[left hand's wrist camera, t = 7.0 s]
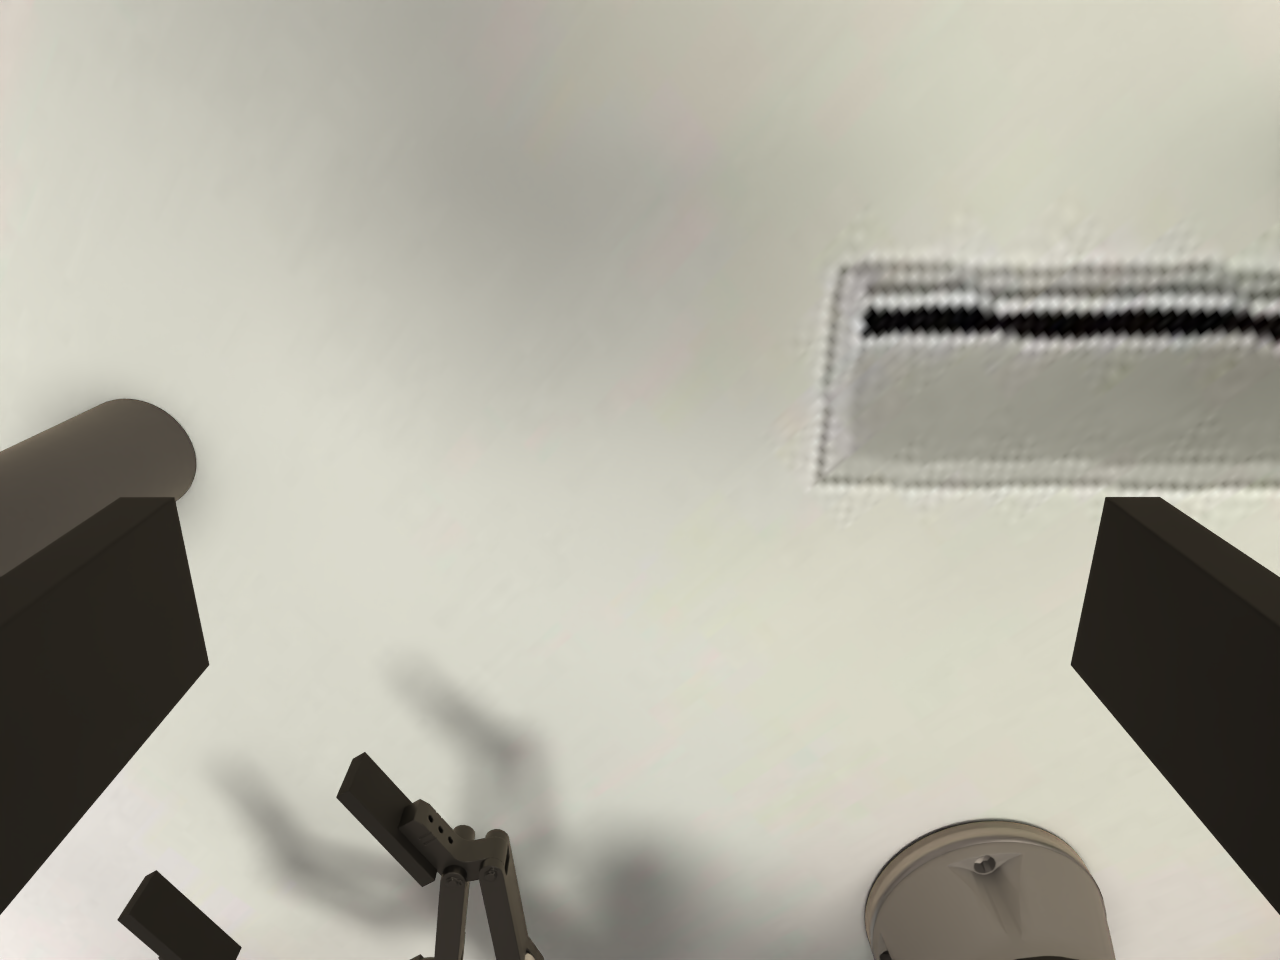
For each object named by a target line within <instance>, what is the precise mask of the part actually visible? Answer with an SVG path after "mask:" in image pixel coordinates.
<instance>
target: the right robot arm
mask: <svg viewBox="0 0 1280 960" xmlns="http://www.w3.org/2000/svg"><path fill="white" fill-rule="evenodd" d="M336 798H337V799H338V800H339V801H340V802H341V803H342V804H343V805H344V806H345V807H346V808H347V809H348V810H349V811H350V812H351V813H352V814H353V815H354V816H355V818H356V819H357V820H358V821H359V822H360V823H361V824H362V825H363V826H364V827H365V828H366V829H367V830H368V831H369V832H370V833H371V834H372V835H373V836H374V837H375V838H376V839H377V840H378V841H379V842H380V844H381V845H382V846H383V847H384V848H385V849H386V850H387V851H388V852H389V853H390V854H391V855H392V856H393V857H394V858H395V859H396V860H397V861H398V862H399V863H400V864H401V865H402V866H403V867H404V868H405V870H406V871H407V872H408V873H409V874H410V875H411V876H412V877H413V878H414V879H415V880H416V881H417V882H418V883H419V884H420V885H421V886H422V887H423V886H425V885H427V884H429V883H431V882H433V881H435V878H436V873H437V872H438V873H439V874H440V875H441V876H442V877H441V882H440V894H439V907H438V919H437V932H436V945H435V957H427V958H424V957H423V956H422V955H421V954H420V955H418V956H416V957H414V958H412V959H410V960H463V954H464V943H465V925H466V914H467V904H468V893H469V883H470V881H473V880H479V881H480V886H481V890H482V895H483V899H484V904H485V909H486V913H487V918H488V923H489V927H490V932H491V936H492V941H493V946H494V950H495V955H496V960H544V958H543V956H542V955H541V953H540V952H539V950H538V949H537V948H536V946H535V945H534V943H533V942H532V941H531V939H530V938H529V937H528V933H527V928H526V923H525V917H524V912H523V907H522V902H521V897H520V892H519V887H518V882H517V876H516V871H515V866H514V861H513V856H512V851H511V846H510V841H509V837H508V834H507V833H506V832H505V831H503V830H500V829H494V830H491V831H489V832H488V833H487V835H486V837H485V838H483V839H478V840H474V839H475V831H474V830H473V829H472V828H471V827H469V826H466V825H460V826H457V827H455V828H454V829H452V828H451V827H450V826H449V825H448V824H447V823H446V822H445V821H444V819H443V818H441V816H440V815H439V814H438V813H436V811H435V810H434V808H433V807H432V806H431V805H430V804H428V803H427V802H425V801H423V800H421V799H419V800H417V801H416V802H414V803H412V802H411V801H410V800H409V799H408V798H407V797H406V796H405V795H404V794H403V793H402V791H401V790H400V789H399V788H398V787H397V786H396V785H395V784H394V783H393V782H392V781H391V780H390V778H389V777H388V776H387V775H386V774H385V773H384V772H383V771H382V770H381V769H380V768H379V767H378V765H377V764H376V763H375V762H374V761H373V760H372V759H371V758H370V757H369V756H368V755H367V754H366V752H364V753H362V754H361V755H359V756H357V757H355V758H353V760H352V762H351V764H350V767H349V769H348V771H347V774H346V776H345V778H344V781H343V783H342V785H341V788H340V790H339V792H338V795H337V797H336ZM118 921H119V922H120V923H121V924H123V925H124V926H125V927H126V928H127V929H128V930H130V931H131V932H132V933H133V934H134V935H135V936H137V937H138V938H139V939H140V940H141V941H142V942H144V943H145V944H146V945H147V946H148V947H149V948H150V949H152V950H153V951H154V952H155V953H156V954H157V955H159V960H236V958H237V956H238V954H239V952H240V950H241V948H242V947H241V946H239V945H238V944H237V943H236V942H235V941H234V940H233V939H232V938H231V937H230V936H228V935H227V934H226V933H225V932H224V931H223V930H222V929H221V928H220V927H219V926H217V925H216V924H215V923H214V922H213V921H212V920H211V919H210V918H209V917H207V916H206V915H205V914H204V913H203V912H202V911H201V910H200V909H199V908H198V907H196V906H195V905H194V904H193V903H192V902H191V901H190V900H189V899H188V898H186V897H185V896H184V895H183V894H182V893H181V892H180V891H179V890H178V889H177V888H175V887H174V886H173V885H172V884H171V883H170V882H169V881H168V880H167V879H165V878H164V877H163V876H162V875H161V874H160V873H159V872H158V871H157V870H156V871H154V872H152V873H151V874H149V875H147V876H145V878H144V879H143V881H142V883H141V884H140V886H139V887H138V889H137V890H136V892H135V893H134V895H133V896H132V898H131V900H130V901H129V903H128V904H127V906H126V907H125V909H124V910H123V912H122V914H121V915H120V917H119V918H118ZM865 924H866V931H867V935H868V939H869V942H870V946H871V949H872V953H873V956H874V959H875V960H1116V959H1115V954H1114V950H1113V945H1112V941H1111V936H1110V932H1109V928H1108V924H1107V919H1106V910H1105V906H1104V901H1103V897H1102V894H1101V892H1100V889H1099V887H1098V886H1097V884H1096V882H1095V880H1094V879H1093V877H1092V875H1091V874H1090V872H1089V871H1088V869H1087V867H1086V866H1085V864H1084V863H1083V861H1082V860H1081V858H1080V857H1079V856H1078V854H1077V853H1076V852H1075V851H1074V850H1073V849H1072V848H1071V847H1070V846H1069V845H1067V844H1066V843H1065V842H1064V841H1062V840H1061V839H1059V838H1058V837H1056V836H1054V835H1052V834H1050V833H1048V832H1046V831H1044V830H1041V829H1039V828H1036V827H1033V826H1029V825H1025V824H1020V823H1014V822H1005V821H985V822H975V823H968V824H963V825H958V826H955V827H951V828H947V829H944V830H942V831H939V832H936V833H934V834H932V835H930V836H927V837H925V838H923V839H921V840H920V841H918V842H916V843H914V844H913V845H911V846H910V847H908V848H907V849H905V850H904V851H903V852H902V853H900V854H899V855H898V856H897V857H896V858H895V859H894V860H892V861H891V862H890V863H889V865H888V866H887V867H886V868H885V869H884V870H883V872H882V873H881V874H880V876H879V877H878V878H877V880H876V882H875V884H874V886H873V887H872V890H871V892H870V894H869V898H868V901H867V905H866V911H865Z"/></svg>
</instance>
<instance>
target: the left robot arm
mask: <svg viewBox="0 0 1280 960" xmlns="http://www.w3.org/2000/svg"><path fill="white" fill-rule="evenodd" d="M208 666H209V661H208V656H207V651H206V647H205V642H204V637H203V632H202V627H201V623H200V618H199V613H198V608H197V603H196V598H195V594H194V589H193V584H192V579H191V574H190V570H189V565H188V560H187V555H186V550H185V545H184V541H183V536H182V531H181V526H180V521H179V517H178V512H177V507H176V502H175V497H120V498H118V499H117V500H115V501H114V502H112V503H111V504H109V505H108V506H106V507H105V508H103V509H102V510H100V511H99V512H97V513H96V514H94V515H93V516H91V517H90V518H88V519H87V520H85V521H84V522H82V523H81V524H79V525H78V526H76V527H75V528H73V529H72V530H70V531H69V532H67V533H66V534H64V535H63V536H61V537H60V538H58V539H57V540H55V541H54V542H52V543H51V544H49V545H48V546H46V547H45V548H43V549H42V550H40V551H39V552H37V553H36V554H34V555H33V556H31V557H30V558H28V559H27V560H25V561H24V562H22V563H21V564H19V565H18V566H16V567H15V568H13V569H12V570H10V571H9V572H7V573H6V574H4V575H3V576H1V577H0V915H1V913H2V912H3V911H4V910H5V909H6V907H7V906H8V905H9V904H10V903H11V901H12V900H13V899H14V898H15V897H16V895H17V894H18V893H19V892H20V891H21V889H22V888H23V887H24V886H25V885H26V883H27V882H28V881H29V880H30V879H31V878H32V876H33V875H34V874H35V873H36V872H37V870H38V869H39V868H40V867H41V866H42V864H43V863H44V862H45V861H46V860H47V858H48V857H49V856H50V855H51V854H52V852H53V851H54V850H55V849H56V848H57V846H58V845H59V844H60V843H61V842H62V840H63V839H64V838H65V837H66V836H67V834H68V833H69V832H70V831H71V830H72V828H73V827H74V826H75V825H76V824H77V822H78V821H79V820H80V819H81V818H82V817H83V815H84V814H85V813H86V812H87V811H88V809H89V808H90V807H91V806H92V805H93V803H94V802H95V801H96V800H97V799H98V797H99V796H100V795H101V794H102V793H103V791H104V790H105V789H106V788H107V787H108V785H109V784H110V783H111V782H112V781H113V779H114V778H115V777H116V776H117V775H118V773H119V772H120V771H121V770H122V769H123V767H124V766H125V765H126V764H127V763H128V761H129V760H130V759H131V758H132V757H133V756H134V754H135V753H136V752H137V751H138V750H139V748H140V747H141V746H142V745H143V744H144V742H145V741H146V740H147V739H148V738H149V736H150V735H151V734H152V733H153V732H154V730H155V729H156V728H157V727H158V726H159V724H160V723H161V722H162V721H163V720H164V718H165V717H166V716H167V715H168V714H169V712H170V711H171V710H172V709H173V708H174V706H175V705H176V704H177V703H178V702H179V700H180V699H181V698H182V697H183V696H184V695H185V693H186V692H187V691H188V690H189V689H190V687H191V686H192V685H193V684H194V683H195V681H196V680H197V679H198V678H199V677H200V675H201V674H202V673H203V672H204V671H205V669H206V668H207V667H208ZM1071 666H1072V667H1073V668H1074V669H1075V671H1076V672H1077V673H1078V674H1079V675H1080V677H1081V678H1082V679H1083V680H1084V681H1085V683H1086V684H1087V685H1088V686H1089V687H1090V689H1091V690H1092V691H1093V692H1094V693H1095V695H1096V696H1097V697H1098V698H1099V699H1100V700H1101V702H1102V703H1103V704H1104V705H1105V706H1106V708H1107V709H1108V710H1109V711H1110V712H1111V714H1112V715H1113V716H1114V717H1115V718H1116V720H1117V721H1118V722H1119V723H1120V724H1121V726H1122V727H1123V728H1124V729H1125V730H1126V732H1127V733H1128V734H1129V735H1130V736H1131V738H1132V739H1133V740H1134V741H1135V742H1136V744H1137V745H1138V746H1139V747H1140V748H1141V750H1142V751H1143V752H1144V753H1145V754H1146V756H1147V757H1148V758H1149V759H1150V760H1151V761H1152V763H1153V764H1154V765H1155V766H1156V767H1157V769H1158V770H1159V771H1160V772H1161V773H1162V775H1163V776H1164V777H1165V778H1166V779H1167V781H1168V782H1169V783H1170V784H1171V785H1172V787H1173V788H1174V789H1175V790H1176V791H1177V793H1178V794H1179V795H1180V796H1181V797H1182V799H1183V800H1184V801H1185V802H1186V803H1187V805H1188V806H1189V807H1190V808H1191V809H1192V811H1193V812H1194V813H1195V814H1196V815H1197V817H1198V818H1199V819H1200V820H1201V821H1202V822H1203V824H1204V825H1205V826H1206V827H1207V828H1208V830H1209V831H1210V832H1211V833H1212V834H1213V836H1214V837H1215V838H1216V839H1217V840H1218V842H1219V843H1220V844H1221V845H1222V846H1223V848H1224V849H1225V850H1226V851H1227V852H1228V854H1229V855H1230V856H1231V857H1232V858H1233V860H1234V861H1235V862H1236V863H1237V864H1238V866H1239V867H1240V868H1241V869H1242V870H1243V872H1244V873H1245V874H1246V875H1247V876H1248V878H1249V879H1250V880H1251V881H1252V882H1253V883H1254V885H1255V886H1256V887H1257V888H1258V889H1259V891H1260V892H1261V893H1262V894H1263V895H1264V897H1265V898H1266V899H1267V900H1268V901H1269V903H1270V904H1271V905H1272V906H1273V907H1274V909H1275V910H1276V911H1277V912H1278V913H1279V915H1280V577H1279V576H1277V575H1276V574H1274V573H1273V572H1271V571H1270V570H1268V569H1267V568H1265V567H1264V566H1262V565H1261V564H1259V563H1258V562H1256V561H1255V560H1253V559H1252V558H1250V557H1249V556H1247V555H1246V554H1244V553H1243V552H1241V551H1240V550H1238V549H1237V548H1235V547H1234V546H1232V545H1231V544H1229V543H1228V542H1226V541H1225V540H1223V539H1222V538H1220V537H1219V536H1217V535H1216V534H1214V533H1213V532H1211V531H1210V530H1208V529H1207V528H1205V527H1204V526H1202V525H1201V524H1199V523H1198V522H1196V521H1195V520H1193V519H1192V518H1190V517H1189V516H1187V515H1186V514H1184V513H1183V512H1181V511H1180V510H1178V509H1177V508H1175V507H1174V506H1172V505H1171V504H1169V503H1168V502H1166V501H1165V500H1163V499H1162V498H1160V497H1105V502H1104V507H1103V512H1102V517H1101V521H1100V526H1099V531H1098V536H1097V541H1096V545H1095V550H1094V555H1093V560H1092V565H1091V570H1090V574H1089V579H1088V584H1087V589H1086V594H1085V598H1084V603H1083V608H1082V613H1081V618H1080V623H1079V627H1078V632H1077V637H1076V642H1075V647H1074V651H1073V656H1072V661H1071Z"/></svg>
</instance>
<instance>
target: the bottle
mask: <svg viewBox="0 0 1280 960" xmlns="http://www.w3.org/2000/svg"><path fill="white" fill-rule="evenodd" d="M195 469H196V458H195V453H194V449H193V446H192V444H191V441H190V439H189V437H188V436H187V434H186V432H185V431H184V430H183V428H182V427H181V426H180V424H179V423H178V422H177V421H176V420H175V419H174V418H172V417H171V416H170V415H169V414H167V413H166V412H164V411H163V410H161V409H160V408H158V407H156V406H154V405H151V404H149V403H146V402H142V401H138V400H132V399H118V400H112V401H108V402H105V403H103V404H101V405H98V406H96V407H94V408H92V409H90V410H88V411H86V412H84V413H82V414H79V415H77V416H75V417H73V418H71V419H69V420H67V421H65V422H62V423H60V424H58V425H56V426H54V427H52V428H50V429H48V430H46V431H43V432H41V433H39V434H37V435H35V436H33V437H31V438H29V439H26V440H24V441H22V442H20V443H18V444H16V445H14V446H12V447H10V448H7V449H5V450H3V451H1V452H0V577H1V576H3V575H4V574H6V573H7V572H9V571H10V570H12V569H13V568H15V567H16V566H18V565H19V564H21V563H22V562H24V561H25V560H27V559H28V558H30V557H31V556H33V555H34V554H36V553H37V552H39V551H40V550H42V549H43V548H45V547H46V546H48V545H49V544H51V543H52V542H54V541H55V540H57V539H58V538H60V537H61V536H63V535H64V534H66V533H67V532H69V531H70V530H72V529H73V528H75V527H76V526H78V525H79V524H81V523H82V522H84V521H85V520H87V519H88V518H90V517H91V516H93V515H94V514H96V513H97V512H99V511H100V510H102V509H103V508H105V507H106V506H108V505H109V504H111V503H112V502H114V501H115V500H117V499H118V498H120V497H175V502H176V501H177V500H178V499H179V498H181V497H182V496H183V495H184V494H185V493H186V492H187V491H188V489H189V487H190V486H191V484H192V482H193V479H194V475H195Z"/></svg>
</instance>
